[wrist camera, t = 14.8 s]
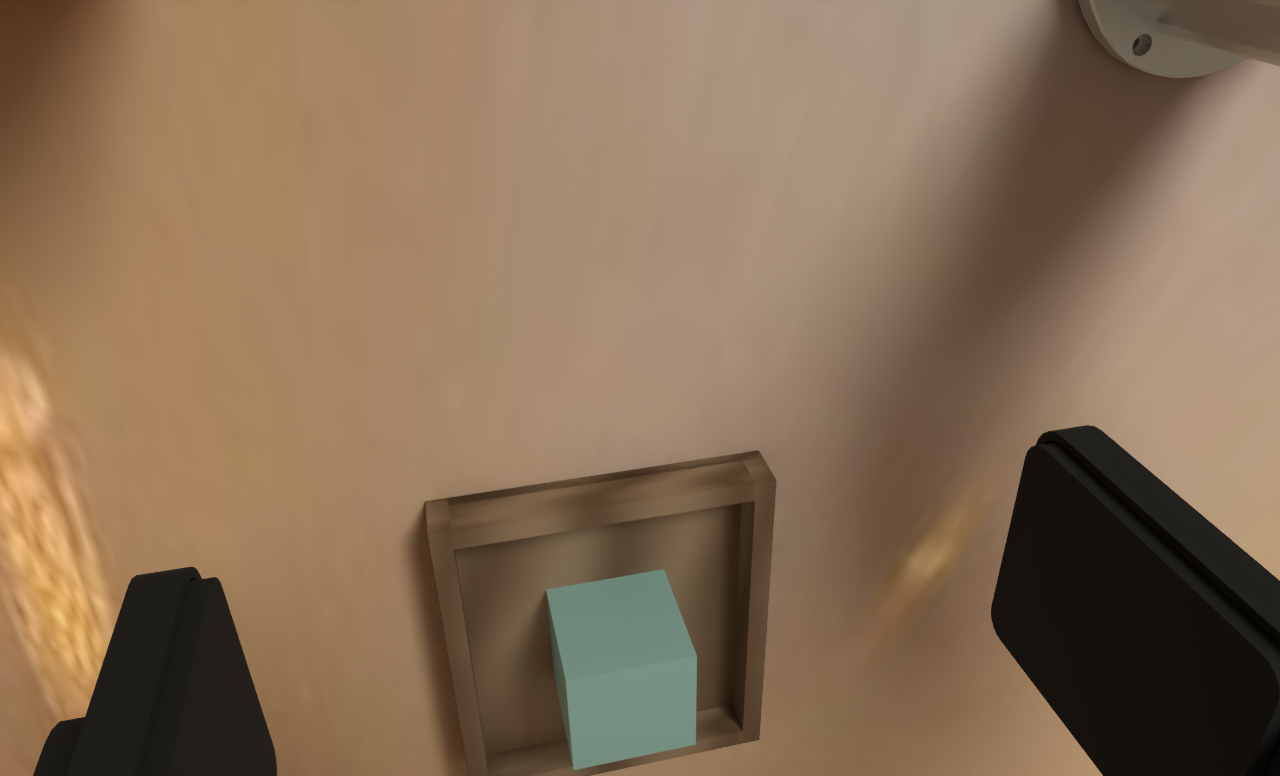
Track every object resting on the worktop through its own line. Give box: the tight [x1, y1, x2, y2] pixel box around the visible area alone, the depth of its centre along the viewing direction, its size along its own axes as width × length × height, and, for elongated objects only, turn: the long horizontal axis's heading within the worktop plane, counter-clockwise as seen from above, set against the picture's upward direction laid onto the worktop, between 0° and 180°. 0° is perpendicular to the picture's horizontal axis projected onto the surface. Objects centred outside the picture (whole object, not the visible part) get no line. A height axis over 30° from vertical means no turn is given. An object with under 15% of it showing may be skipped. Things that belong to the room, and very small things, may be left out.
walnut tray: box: [425, 451, 776, 776], centre depth 49 cm, size 16×18×2 cm
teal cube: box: [546, 569, 697, 770], centre depth 47 cm, size 6×6×6 cm
